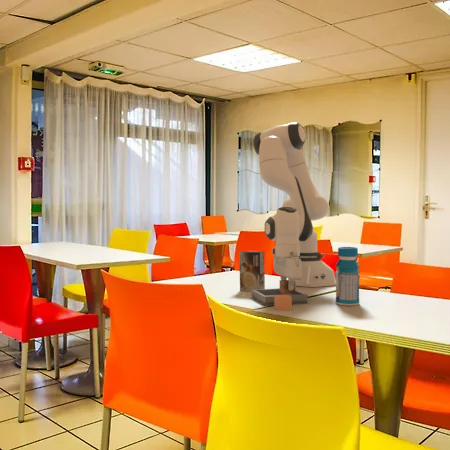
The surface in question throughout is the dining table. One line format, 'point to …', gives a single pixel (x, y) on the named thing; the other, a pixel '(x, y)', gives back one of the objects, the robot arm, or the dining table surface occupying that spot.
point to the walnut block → (286, 287)
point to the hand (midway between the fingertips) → (287, 288)
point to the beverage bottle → (347, 277)
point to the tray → (268, 294)
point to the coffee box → (252, 270)
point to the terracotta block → (282, 302)
